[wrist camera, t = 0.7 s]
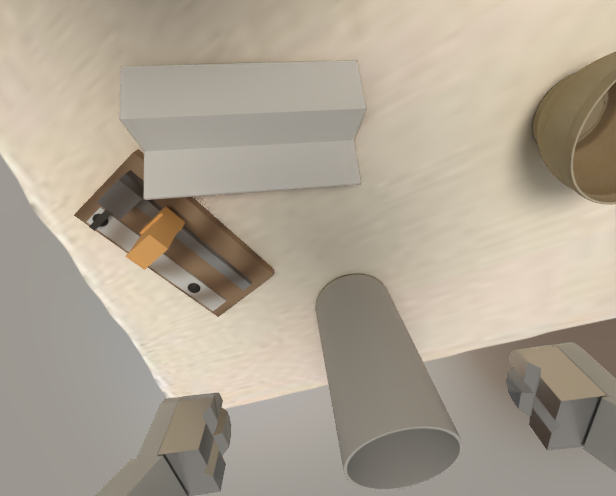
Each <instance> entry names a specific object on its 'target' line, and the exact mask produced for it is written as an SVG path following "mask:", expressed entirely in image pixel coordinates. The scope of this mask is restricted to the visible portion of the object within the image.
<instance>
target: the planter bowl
mask: <svg viewBox="0 0 616 496" xmlns="http://www.w3.org/2000/svg"><path fill="white" fill-rule="evenodd" d="M533 135H534V138H535V140H536V142H537V143H538V146H539V150H540V153H541V156H542V158H543V160H544V162H545V164H546V166H547V167H548V169H549V170H550V171H551V172H552V174H553V175H554V176H555V177H556V178H557V179H559V180H560V181H561V182H562V183H564V184H565V185H566V186H568V187H569V188H571V189H573V190H575V191H576V192H577V193H578V194H579V195H581V196H582V197H584V198H586V199H588V200H590V201H592V202H595V203H600V204H616V52H614V53H611V54H609V55H607V56H605V57H602V58H600V59H598V60H596V61H594V62H593V63H591V64H589V65H587V66H586V67H584V68H583V69H581V70H580V71H578V72H577V73H575V74H572V75H570V76H568V77H566V78H564V79H563V80H561V81H560V82H559V83H557V84H556V85H555V86H554V87H553V88H552V89H551V90H550V91H549V92H548V93H547V95H546V96H545V97H544V98H543V100H542V102H541V103H540V105H539V107H538V109H537V111H536V114H535V117H534V122H533Z"/></svg>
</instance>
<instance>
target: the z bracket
mask: <svg viewBox="0 0 616 496" xmlns="http://www.w3.org/2000/svg"><path fill="white" fill-rule="evenodd" d="M365 111H366V104H365V99H364V93H363V88H362V83H361V77H360V72H359V66H358V61H357V60H348V61H310V62H272V63H233V64H195V65H157V66H121V80H120V118H119V119H120V121H121V122H122V123H123V125H124V126H125V127H126V129H127V130H128V131H129V133H130V134H131V135H132V136H133V138H134V139H135V140H136V142H137V143H138V144H139V146H140V147H141V148H142V150H143V151H144V199H145V200H151V199H165V198H179V197H193V196H208V195H222V194H236V193H250V192H264V191H278V190H292V189H306V188H320V187H334V186H348V185H360V184H361V179H360V173H359V167H358V161H357V156H356V150H355V144H354V138H355V136H356V133H357V131H358V128H359V126H360V123H361V121H362V118H363V116H364V113H365Z"/></svg>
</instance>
